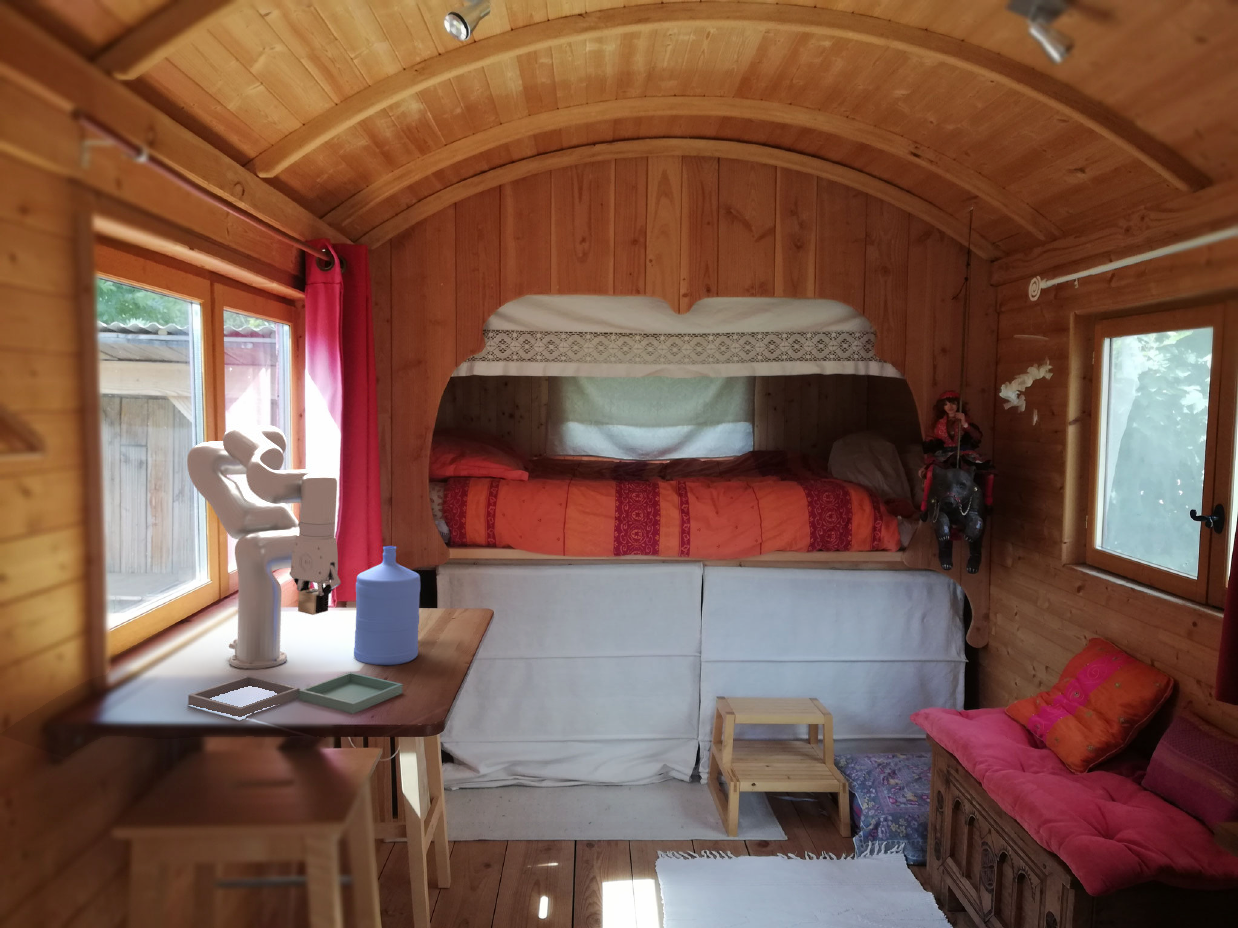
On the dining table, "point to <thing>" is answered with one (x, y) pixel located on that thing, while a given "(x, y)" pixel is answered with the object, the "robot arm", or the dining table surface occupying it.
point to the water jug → (387, 613)
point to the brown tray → (203, 697)
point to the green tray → (350, 692)
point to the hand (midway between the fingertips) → (313, 608)
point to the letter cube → (308, 601)
